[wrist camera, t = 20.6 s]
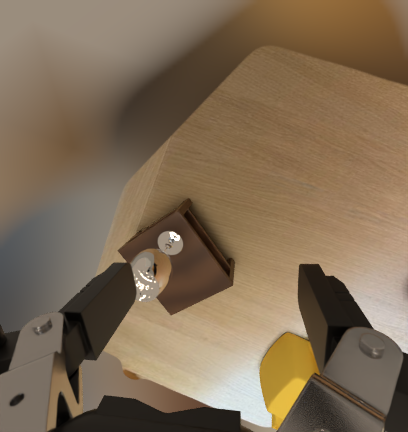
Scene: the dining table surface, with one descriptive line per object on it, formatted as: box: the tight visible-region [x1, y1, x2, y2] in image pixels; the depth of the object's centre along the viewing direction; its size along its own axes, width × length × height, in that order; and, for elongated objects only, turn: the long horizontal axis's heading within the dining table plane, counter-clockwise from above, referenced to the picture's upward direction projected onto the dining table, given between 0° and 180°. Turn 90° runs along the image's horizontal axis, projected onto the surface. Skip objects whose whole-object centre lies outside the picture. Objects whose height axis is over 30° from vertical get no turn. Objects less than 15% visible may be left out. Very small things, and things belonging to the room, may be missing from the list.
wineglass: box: [130, 231, 183, 302], centre depth 34 cm, size 6×6×12 cm
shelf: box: [118, 198, 235, 315], centre depth 45 cm, size 16×14×8 cm
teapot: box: [259, 333, 320, 430], centre depth 48 cm, size 20×12×12 cm, turn 157°
